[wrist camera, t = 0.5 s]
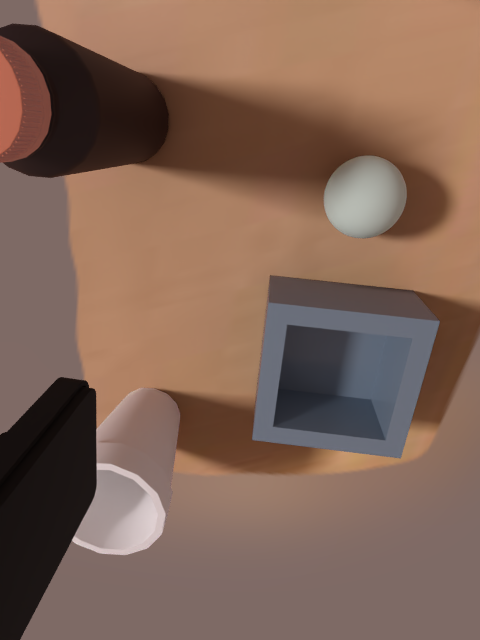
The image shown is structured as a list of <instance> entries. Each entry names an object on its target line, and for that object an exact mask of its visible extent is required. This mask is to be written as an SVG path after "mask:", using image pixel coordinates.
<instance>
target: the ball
mask: <svg viewBox="0 0 480 640" xmlns="http://www.w3.org/2000/svg"><path fill="white" fill-rule="evenodd" d="M406 199H407V189H406V184H405V181H404V178H403V176H402V174H401V172H400V171H399V170H398V168H397V167H396V166H395V165H394V164H392V163H391V162H389V161H388V160H386V159H384V158H381V157H378V156H370V155H366V156H359V157H355V158H353V159H350V160H348V161H346V162H345V163H343V164H342V165H340V166H339V167H338V168H337V169H336V170H335V171H334V173H333V174H332V175H331V177H330V178H329V180H328V182H327V185H326V188H325V192H324V207H325V211H326V215H327V217H328V219H329V220H330V222H331V224H332V225H333V226H334V227H335V228H336V229H337V230H339V231H340V232H342V233H343V234H345V235H347V236H350V237H354V238H371V237H375V236H377V235H380V234H382V233H384V232H385V231H387V230H388V229H390V228H391V227H392V226H393V225H394V224H395V223H396V222H397V220H398V219H399V218H400V216H401V214H402V212H403V210H404V208H405V204H406Z"/></svg>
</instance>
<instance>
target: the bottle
mask: <svg viewBox="0 0 480 640" xmlns="http://www.w3.org/2000/svg"><path fill="white" fill-rule="evenodd" d="M167 131H168V111H167V107H166V103H165V100H164V98H163V96H162V94H161V93H160V91H159V90H158V88H157V86H156V85H155V84H154V83H152V82H151V81H150V80H149V79H148V78H147V77H146V76H144V75H142V74H140V73H138V72H136V71H134V70H131V69H129V68H127V67H125V66H123V65H121V64H119V63H117V62H114V61H112V60H110V59H108V58H106V57H104V56H102V55H100V54H97V53H95V52H93V51H91V50H89V49H87V48H85V47H83V46H80V45H78V44H76V43H74V42H72V41H70V40H68V39H66V38H63V37H61V36H59V35H57V34H55V33H53V32H50V31H48V30H46V29H44V28H41V27H39V26H36V25H24V24H10V25H7V26H5V27H2V28H0V162H3V163H4V164H5V165H6V166H8V167H9V168H12V169H14V170H16V171H19V172H21V173H23V174H26V175H28V176H36V177H48V178H53V177H58V176H64V175H70V174H76V173H82V172H88V171H93V170H99V169H105V168H111V167H117V166H123V165H128V164H134V163H138V162H142V161H145V160H147V159H149V158H150V157H151V156H153V155H154V154H156V153H157V152H158V150H159V149H160V147H161V146H162V144H163V143H164V141H165V138H166V135H167Z"/></svg>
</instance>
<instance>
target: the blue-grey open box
mask: <svg viewBox="0 0 480 640" xmlns="http://www.w3.org/2000/svg"><path fill="white" fill-rule="evenodd" d="M439 323H440V321H439V320H438V318H437V317H436V316H435V315H434V314H433V313H432V312H431V311H430V309H429V308H428V307H427V306H426V305H425V304H424V303H423V301H422V300H421V299H420V298H419V297H418V296H417V295H416V294H415V292H414V291H411V290H402V289H393V288H383V287H374V286H364V285H355V284H346V283H336V282H327V281H318V280H308V279H299V278H290V277H280V276H271V275H270V281H269V289H268V298H267V306H266V315H265V323H264V332H263V340H262V349H261V357H260V366H259V374H258V383H257V391H256V401H255V413H254V424H253V435H252V440H256V441H264V442H272V443H280V444H289V445H297V446H305V447H313V448H321V449H329V450H337V451H346V452H354V453H362V454H370V455H378V456H386V457H394V458H401V455H402V452H403V448H404V445H405V441H406V438H407V434H408V431H409V428H410V424H411V421H412V417H413V414H414V410H415V407H416V403H417V400H418V396H419V393H420V389H421V386H422V382H423V379H424V375H425V372H426V368H427V365H428V361H429V358H430V354H431V351H432V348H433V344H434V341H435V337H436V334H437V330H438V327H439Z"/></svg>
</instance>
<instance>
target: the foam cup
mask: <svg viewBox="0 0 480 640" xmlns="http://www.w3.org/2000/svg"><path fill="white" fill-rule="evenodd" d="M180 415H181V414H180V411H179V409H178V406H177V403H176V402H175V401H174V400H173V399H172V398H171V397H170V396H169V395H168V394H167V393H164V392H162V391H160V390H157V389H155V388H140V389H137V390H135V391H132V392H130V393H129V394H128V395H127V396H126V397H125V398H124V399H123V400H122V401H121V403H120V404H119V405H118V406H117V407H116V408H115V409H114V410H113V411H112V412H111V414H110V415H109V416H108V417H107V418H106V419H105V420H104V421H103V422H102V424H101V425H100V426H99V427H98V428H97V429H96V449H97V486H96V492H95V496H94V498H93V501H92V503H91V505H90V507H89V509H88V511H87V512H86V514H85V516H84V518H83V520H82V522H81V524H80V526H79V528H78V530H77V532H76V534H75V535H74V537H73V539H72V541H73V542H74V543H75V544H78V545H80V546H83V547H85V548H88V549H90V550H93V551H96V552H98V553H101V554H117V555H127V554H130V553H133V552H137V551H140V550H143V549H147V548H148V547H149V546H150V545H151V544H152V543H153V542H154V541H155V540H156V539H157V538H158V537H159V536H160V535H161V534H162V532H163V528H164V525H165V522H166V519H167V515H168V511H169V507H170V502H171V497H172V489H171V482H172V475H173V468H174V460H175V453H176V446H177V439H178V431H179V424H180Z"/></svg>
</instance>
